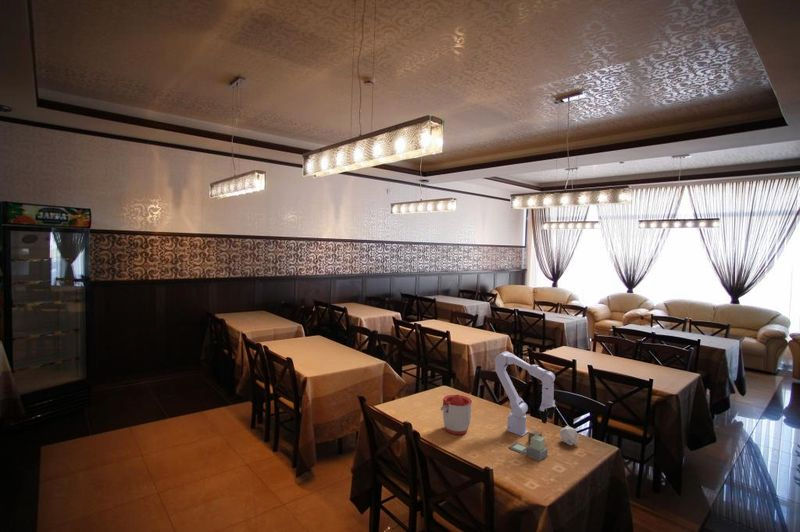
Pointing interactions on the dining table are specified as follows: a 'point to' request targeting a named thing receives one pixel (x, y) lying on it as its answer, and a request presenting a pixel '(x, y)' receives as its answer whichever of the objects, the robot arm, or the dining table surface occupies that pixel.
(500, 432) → the dining table surface
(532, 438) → the sage block
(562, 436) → the grey rock
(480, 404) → the dining table surface
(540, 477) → the dining table surface
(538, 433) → the walnut block
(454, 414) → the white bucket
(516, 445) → the grey square plate
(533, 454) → the slate base
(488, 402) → the dining table surface
